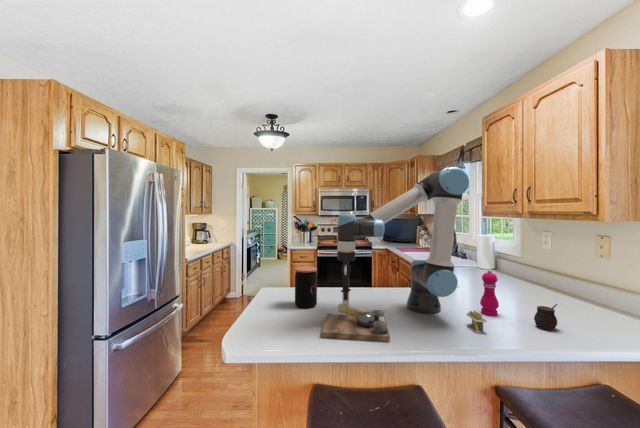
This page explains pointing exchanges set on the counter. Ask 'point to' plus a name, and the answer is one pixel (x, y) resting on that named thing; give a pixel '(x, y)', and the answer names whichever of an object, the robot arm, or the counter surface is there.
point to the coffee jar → (305, 287)
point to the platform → (477, 320)
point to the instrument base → (355, 328)
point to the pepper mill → (489, 294)
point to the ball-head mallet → (358, 315)
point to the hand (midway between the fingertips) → (345, 306)
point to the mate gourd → (545, 317)
